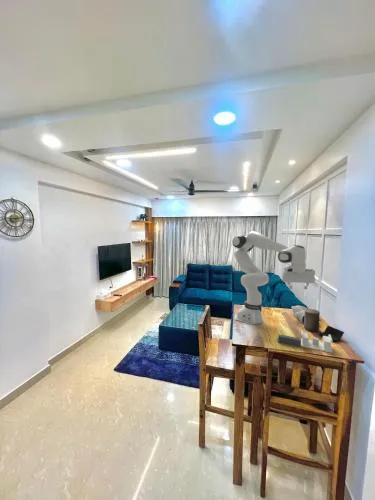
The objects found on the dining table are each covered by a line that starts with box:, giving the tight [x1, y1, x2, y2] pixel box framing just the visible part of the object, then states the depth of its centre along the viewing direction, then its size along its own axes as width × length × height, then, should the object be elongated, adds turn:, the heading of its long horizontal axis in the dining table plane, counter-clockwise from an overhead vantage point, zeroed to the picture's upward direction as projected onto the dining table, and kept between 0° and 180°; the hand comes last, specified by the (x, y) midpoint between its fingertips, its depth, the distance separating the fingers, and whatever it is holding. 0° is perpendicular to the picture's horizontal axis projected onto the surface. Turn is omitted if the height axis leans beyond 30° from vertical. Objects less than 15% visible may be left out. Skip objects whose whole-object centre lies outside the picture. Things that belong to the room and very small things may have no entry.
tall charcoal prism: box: [277, 334, 302, 348], centre depth 138 cm, size 13×3×5 cm, turn 65°
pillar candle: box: [303, 308, 321, 333], centre depth 161 cm, size 10×10×15 cm
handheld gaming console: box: [318, 325, 345, 342], centre depth 148 cm, size 11×10×4 cm
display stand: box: [300, 329, 333, 354], centre depth 136 cm, size 17×10×8 cm, turn 65°
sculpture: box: [291, 305, 322, 326], centre depth 182 cm, size 25×19×10 cm
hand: (297, 288), depth 150 cm, fingers open, 8 cm apart
